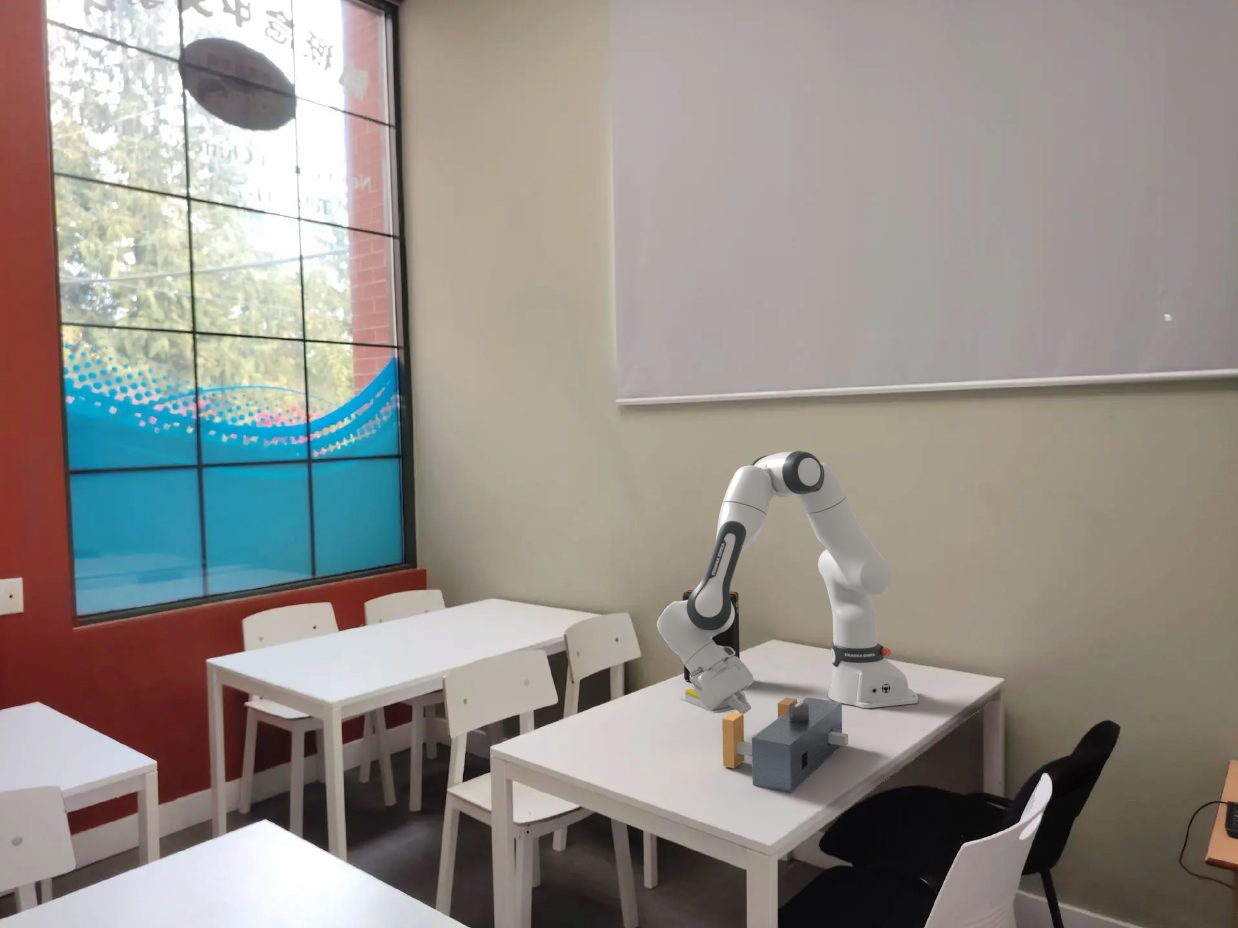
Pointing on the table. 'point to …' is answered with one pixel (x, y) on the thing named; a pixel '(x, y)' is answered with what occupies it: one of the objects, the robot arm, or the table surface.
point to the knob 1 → (734, 740)
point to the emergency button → (694, 699)
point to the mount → (795, 746)
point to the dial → (799, 712)
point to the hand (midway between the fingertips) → (747, 711)
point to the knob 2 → (832, 736)
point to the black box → (727, 637)
